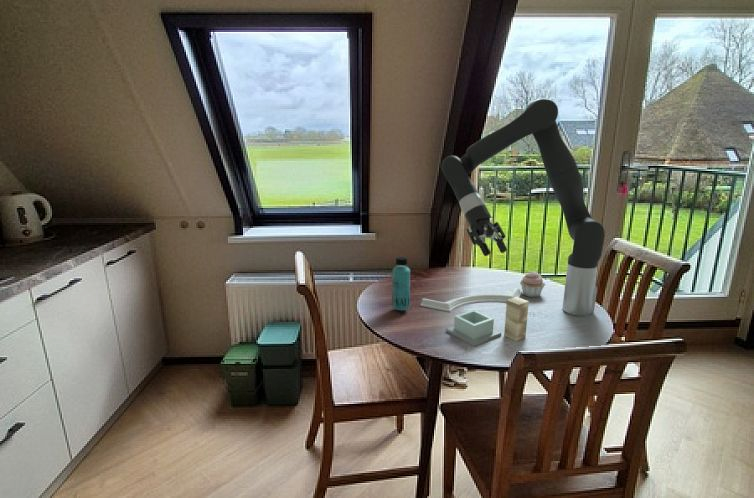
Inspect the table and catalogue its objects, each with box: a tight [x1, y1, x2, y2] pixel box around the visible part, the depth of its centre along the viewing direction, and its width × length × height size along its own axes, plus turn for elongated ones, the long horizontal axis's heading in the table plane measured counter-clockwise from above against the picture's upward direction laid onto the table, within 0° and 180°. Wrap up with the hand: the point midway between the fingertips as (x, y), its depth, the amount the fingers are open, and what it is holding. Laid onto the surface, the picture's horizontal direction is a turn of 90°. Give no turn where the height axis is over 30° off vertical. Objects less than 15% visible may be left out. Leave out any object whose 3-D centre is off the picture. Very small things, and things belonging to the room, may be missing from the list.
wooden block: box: [503, 297, 530, 342], centre depth 127 cm, size 4×4×12 cm
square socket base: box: [445, 309, 502, 347], centre depth 130 cm, size 12×12×6 cm
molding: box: [420, 287, 523, 313], centre depth 155 cm, size 42×12×3 cm, turn 104°
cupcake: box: [519, 269, 546, 298], centre depth 159 cm, size 9×9×10 cm
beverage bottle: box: [391, 256, 411, 311], centre depth 145 cm, size 6×7×20 cm
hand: (496, 253), depth 130 cm, fingers open, 8 cm apart
